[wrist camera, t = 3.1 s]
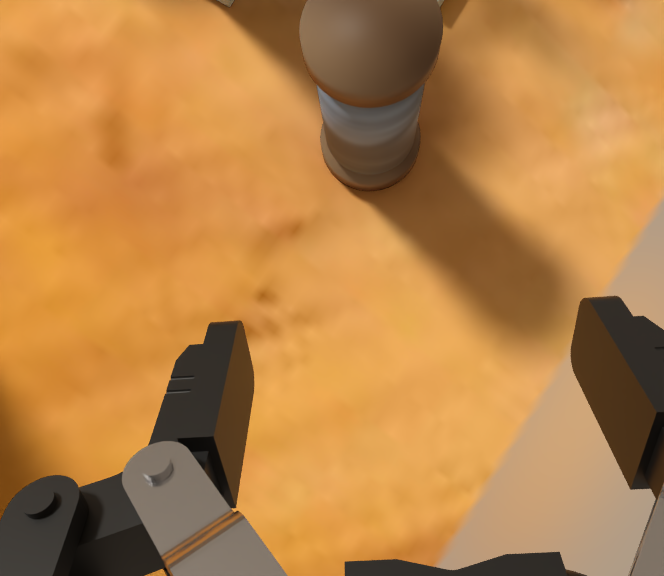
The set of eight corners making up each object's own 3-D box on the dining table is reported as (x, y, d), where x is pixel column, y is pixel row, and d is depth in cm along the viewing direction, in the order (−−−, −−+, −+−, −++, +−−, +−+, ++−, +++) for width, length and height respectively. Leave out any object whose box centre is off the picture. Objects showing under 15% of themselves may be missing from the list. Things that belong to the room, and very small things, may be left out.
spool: (387, 208, 29) (395, 119, 20) (303, 161, 30) (272, 52, 20) (436, 127, 30) (469, 1, 20) (353, 83, 31) (346, -60, 21)
